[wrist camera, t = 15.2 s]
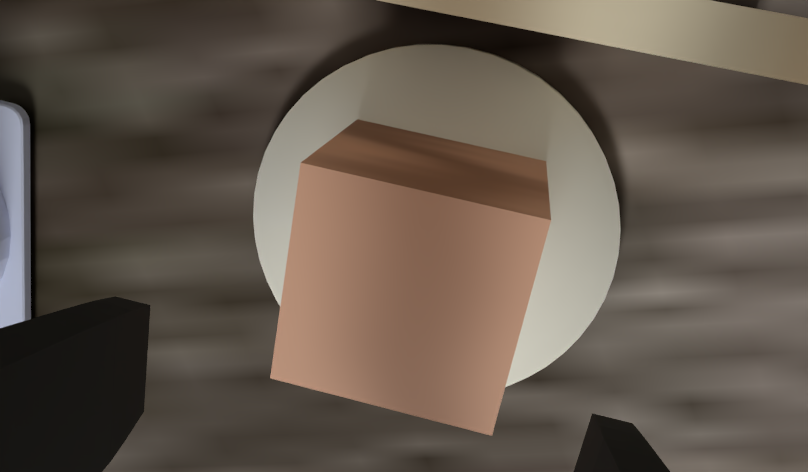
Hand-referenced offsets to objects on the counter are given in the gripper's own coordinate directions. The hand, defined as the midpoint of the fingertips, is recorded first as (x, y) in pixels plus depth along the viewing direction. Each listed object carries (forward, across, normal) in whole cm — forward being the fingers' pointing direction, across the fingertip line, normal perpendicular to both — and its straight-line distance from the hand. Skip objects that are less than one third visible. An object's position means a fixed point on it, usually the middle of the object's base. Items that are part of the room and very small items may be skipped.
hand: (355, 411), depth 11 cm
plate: (+9, 0, 0) cm, 9 cm away
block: (+9, 0, 0) cm, 9 cm away
